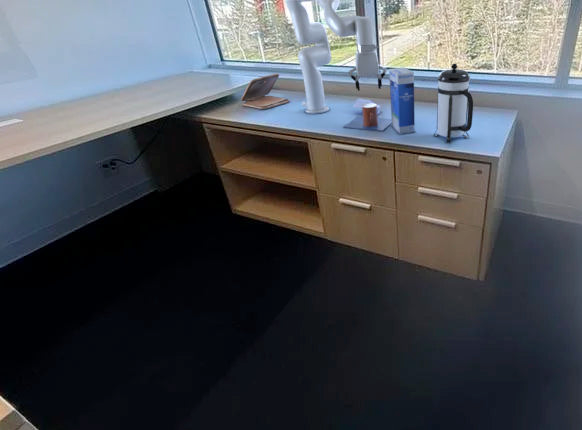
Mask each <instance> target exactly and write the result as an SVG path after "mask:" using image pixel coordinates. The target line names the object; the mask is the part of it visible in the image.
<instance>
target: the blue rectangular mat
mask: <svg viewBox="0 0 582 430" xmlns="http://www.w3.org/2000/svg"><path fill="white" fill-rule="evenodd" d="M390 125H392V118H391V119H390V118H389V119H388V118H378V125H376V126H370V127H369V126H364V125H363V116H357V117H355V118H354V119H353V120H352V121H350V122H349V123H346V125H344V126H343V128H344V129H356V130H367V131H375V132H376V131H377V132H384V131H385V130H386V129H387V128H388V127H389V126H390Z"/></svg>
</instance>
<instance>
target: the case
mask: <svg viewBox="0 0 582 430" xmlns="http://www.w3.org/2000/svg"><path fill="white" fill-rule="evenodd" d="M279 77H280V74H279V73H272V74H269V75H264V76H261V77H257V78H253V79H251V80H250V81H249V83H248V85H247V86H246V88H245V90H244V91H243V94H242V96H241V98H240V101H242V102H243V103H242V105H243V106H244V107H248V108H249V107H250V108H254V109H259V110H267V109H271V108H275V107H277V106H281V105H285V104H288V103H290V99H288V98H285V97H279V96H274V95H269V94H270V93H271V91H272V89H273V87H274V86H275V84H276V82H277V80H278V79H279Z"/></svg>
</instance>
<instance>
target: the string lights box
mask: <svg viewBox="0 0 582 430" xmlns="http://www.w3.org/2000/svg"><path fill="white" fill-rule="evenodd" d="M388 75H389V93H390V110H391V111H390V112H391V120H392V123H391V126H392V127H393V128H394V130H395V131H396V133H398V134H399V135H404V134H410V133H415V132H416V131H415V130H416V128H415V125H416V123H415V122H416V121H415V73H414V71H412V70H410V69H408V68H406V67H403V66H402V67H397V68H389V69H388Z"/></svg>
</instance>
